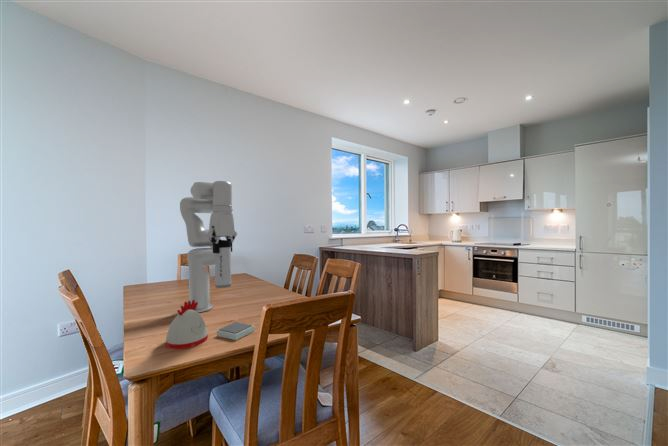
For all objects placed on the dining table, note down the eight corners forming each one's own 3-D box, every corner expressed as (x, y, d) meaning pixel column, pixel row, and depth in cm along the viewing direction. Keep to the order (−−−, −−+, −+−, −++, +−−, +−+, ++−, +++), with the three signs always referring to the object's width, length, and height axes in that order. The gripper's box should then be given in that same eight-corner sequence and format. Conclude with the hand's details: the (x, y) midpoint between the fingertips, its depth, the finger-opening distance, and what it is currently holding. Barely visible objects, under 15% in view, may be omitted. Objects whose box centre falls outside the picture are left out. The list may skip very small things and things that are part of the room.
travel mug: (224, 284, 122) (224, 239, 123) (234, 285, 119) (233, 239, 119) (211, 287, 117) (211, 239, 117) (221, 288, 113) (221, 239, 114)
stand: (216, 336, 109) (216, 329, 109) (235, 327, 118) (235, 321, 118) (236, 340, 105) (236, 333, 105) (254, 331, 114) (253, 325, 114)
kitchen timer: (215, 337, 108) (215, 298, 109) (184, 351, 96) (184, 308, 96) (190, 331, 114) (190, 295, 114) (157, 345, 101) (157, 303, 101)
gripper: (231, 211, 128) (231, 250, 127) (198, 209, 112) (199, 254, 112) (243, 211, 125) (244, 251, 124) (212, 208, 109) (212, 254, 109)
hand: (222, 252), depth 118 cm, fingers closed on travel mug, 6 cm apart
